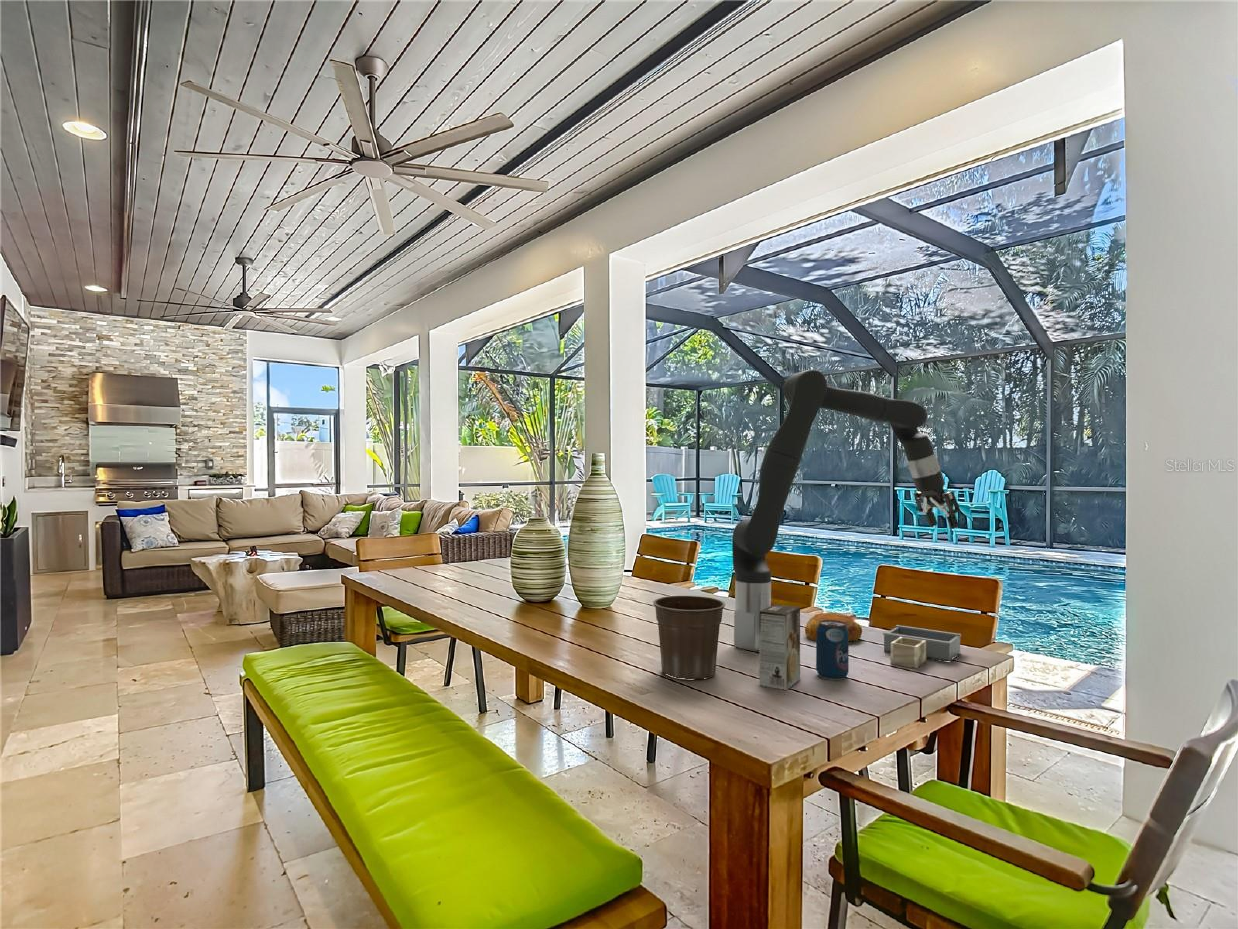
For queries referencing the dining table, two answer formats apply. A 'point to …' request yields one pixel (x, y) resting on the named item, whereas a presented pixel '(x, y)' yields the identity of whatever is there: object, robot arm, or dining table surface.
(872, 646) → the dining table surface
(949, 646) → the box
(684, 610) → the plant pot
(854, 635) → the croissant
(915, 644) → the small crate
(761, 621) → the coffee box
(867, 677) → the dining table surface
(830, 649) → the soda can
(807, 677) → the dining table surface
